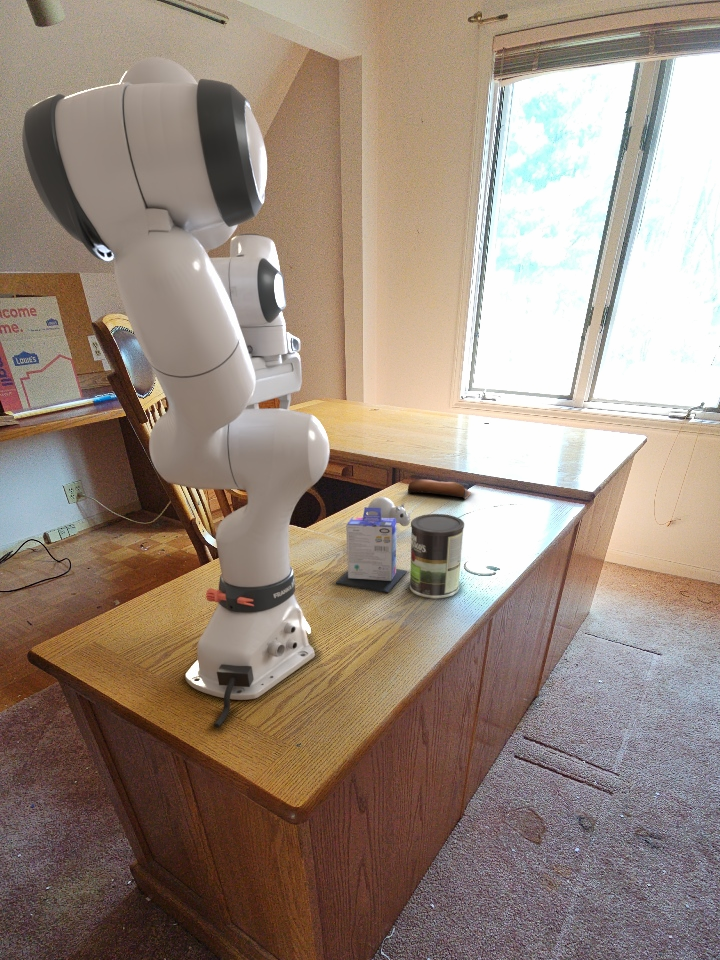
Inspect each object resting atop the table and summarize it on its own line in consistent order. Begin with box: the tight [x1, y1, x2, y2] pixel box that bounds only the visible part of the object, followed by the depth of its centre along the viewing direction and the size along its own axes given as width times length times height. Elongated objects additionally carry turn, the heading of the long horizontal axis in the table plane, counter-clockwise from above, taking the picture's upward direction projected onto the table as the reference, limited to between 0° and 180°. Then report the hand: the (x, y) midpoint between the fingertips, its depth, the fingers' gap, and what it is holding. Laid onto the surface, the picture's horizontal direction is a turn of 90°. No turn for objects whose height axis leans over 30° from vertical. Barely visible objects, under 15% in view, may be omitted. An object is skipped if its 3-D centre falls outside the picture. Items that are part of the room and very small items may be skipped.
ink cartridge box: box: [345, 506, 397, 581], centre depth 117 cm, size 10×6×14 cm, turn 78°
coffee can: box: [409, 513, 465, 600], centre depth 112 cm, size 10×10×14 cm
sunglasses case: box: [407, 478, 472, 500], centre depth 170 cm, size 18×7×7 cm, turn 64°
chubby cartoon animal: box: [367, 496, 411, 527], centre depth 142 cm, size 7×12×8 cm, turn 56°
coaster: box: [335, 568, 408, 594], centre depth 121 cm, size 11×12×1 cm
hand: (271, 423), depth 110 cm, fingers open, 8 cm apart
